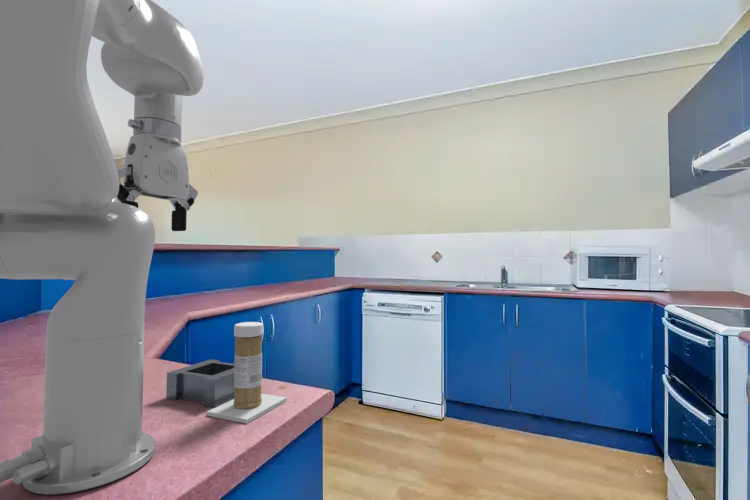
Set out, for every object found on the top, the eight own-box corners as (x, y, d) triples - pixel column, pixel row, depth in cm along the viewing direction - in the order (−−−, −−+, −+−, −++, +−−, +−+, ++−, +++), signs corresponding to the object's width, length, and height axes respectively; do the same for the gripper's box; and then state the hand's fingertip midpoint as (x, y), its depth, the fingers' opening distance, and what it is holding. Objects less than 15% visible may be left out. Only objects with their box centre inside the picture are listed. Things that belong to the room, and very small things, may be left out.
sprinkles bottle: (255, 397, 65) (256, 320, 66) (266, 405, 62) (267, 323, 62) (228, 403, 63) (230, 322, 63) (238, 412, 59) (239, 326, 60)
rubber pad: (246, 423, 56) (247, 419, 56) (206, 415, 59) (206, 411, 59) (286, 401, 66) (286, 397, 66) (249, 394, 69) (249, 391, 69)
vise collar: (214, 407, 63) (214, 380, 63) (166, 398, 67) (166, 372, 67) (254, 388, 72) (255, 365, 72) (210, 381, 76) (210, 359, 76)
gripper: (124, 115, 59) (121, 223, 58) (210, 146, 75) (209, 231, 74) (94, 121, 62) (91, 224, 61) (183, 150, 78) (181, 233, 77)
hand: (155, 228), depth 68 cm, fingers open, 9 cm apart
